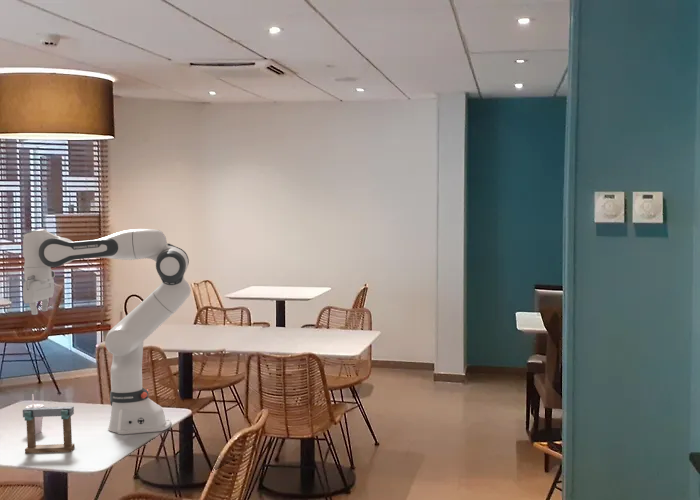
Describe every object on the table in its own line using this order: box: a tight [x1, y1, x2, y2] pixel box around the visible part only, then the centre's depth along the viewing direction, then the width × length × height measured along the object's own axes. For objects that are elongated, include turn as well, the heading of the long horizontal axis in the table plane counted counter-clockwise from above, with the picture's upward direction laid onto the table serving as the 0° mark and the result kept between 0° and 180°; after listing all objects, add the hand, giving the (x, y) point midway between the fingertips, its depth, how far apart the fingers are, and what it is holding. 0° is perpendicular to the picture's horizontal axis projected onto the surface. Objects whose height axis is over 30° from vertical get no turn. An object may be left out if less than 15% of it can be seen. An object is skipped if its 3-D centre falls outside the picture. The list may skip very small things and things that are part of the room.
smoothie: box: [25, 393, 45, 435], centre depth 277 cm, size 6×6×14 cm
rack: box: [23, 410, 75, 454], centre depth 254 cm, size 15×5×14 cm, turn 93°
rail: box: [22, 405, 75, 418], centre depth 254 cm, size 16×2×2 cm, turn 93°
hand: (39, 312), depth 273 cm, fingers open, 8 cm apart
